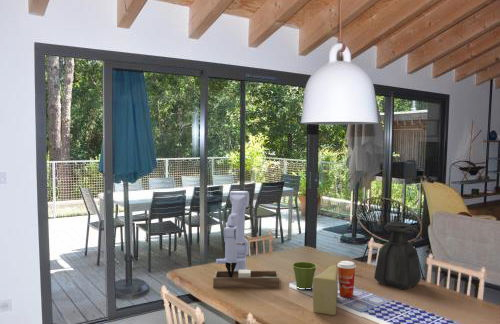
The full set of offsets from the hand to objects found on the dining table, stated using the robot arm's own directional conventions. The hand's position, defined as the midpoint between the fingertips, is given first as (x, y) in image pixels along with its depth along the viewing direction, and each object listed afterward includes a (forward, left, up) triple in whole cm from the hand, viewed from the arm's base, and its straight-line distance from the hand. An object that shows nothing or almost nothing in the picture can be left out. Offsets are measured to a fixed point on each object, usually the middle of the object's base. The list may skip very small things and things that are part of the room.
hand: (231, 277), depth 212 cm
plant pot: (+7, +36, -3) cm, 37 cm away
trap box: (0, +8, -3) cm, 8 cm away
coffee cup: (+17, +54, -3) cm, 56 cm away
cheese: (+28, +44, -3) cm, 52 cm away
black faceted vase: (+1, +83, -3) cm, 83 cm away
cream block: (0, +7, -1) cm, 7 cm away
